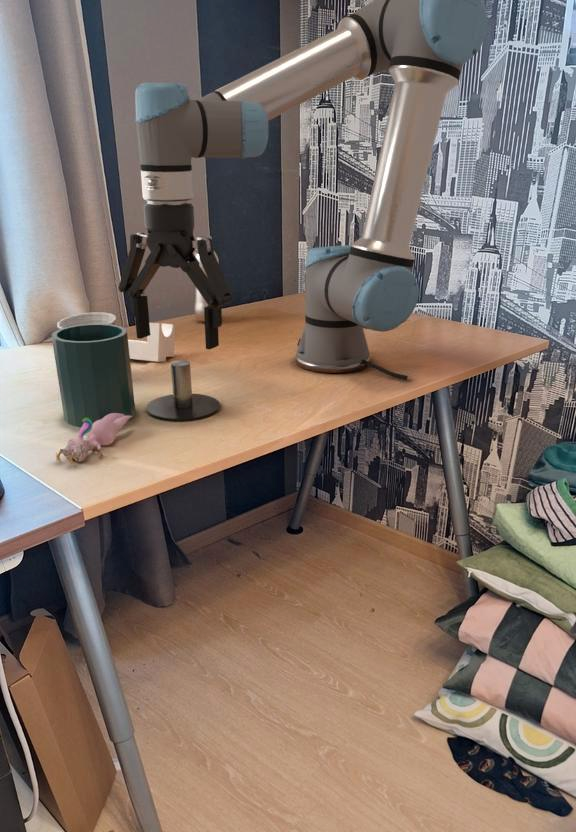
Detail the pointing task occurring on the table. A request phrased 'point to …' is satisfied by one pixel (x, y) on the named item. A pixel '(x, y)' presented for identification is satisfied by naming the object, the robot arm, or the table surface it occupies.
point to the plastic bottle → (199, 300)
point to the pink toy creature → (93, 436)
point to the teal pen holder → (93, 372)
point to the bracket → (154, 344)
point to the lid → (182, 399)
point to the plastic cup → (87, 319)
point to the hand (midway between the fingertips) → (177, 342)
